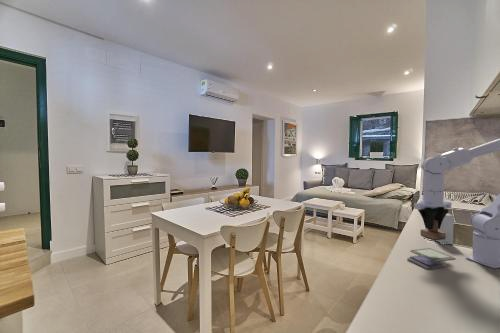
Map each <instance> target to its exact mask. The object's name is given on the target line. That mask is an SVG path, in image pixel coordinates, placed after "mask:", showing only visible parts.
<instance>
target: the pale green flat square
mask: <svg viewBox="0 0 500 333" xmlns="http://www.w3.org/2000/svg"><path fill="white" fill-rule="evenodd" d="M410 252H411V253H414V254H416V255H417V256H420V255H424V256H426V257H429V258H431V259H433V260H436V261H438V262H441V261H447V260H448V261H449V260H455V259H456V257H455V256H452V255H449V254H447V253H445V252H441V251H439V250H437V249H436V250H435V249H434V248H430V247H427V248H419V249H418V248H417V249H411V250H410Z"/></svg>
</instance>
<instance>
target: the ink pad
mask: <svg viewBox="0 0 500 333" xmlns="http://www.w3.org/2000/svg"><path fill="white" fill-rule="evenodd" d="M406 261H409V262H411V263H413V264H415V265H417V266H419V267H421V268H422V269H423V268H424V269H425V270H434V269H441V268H442V269H443V268H446V264H444V263H443V262H441V261H436V260H433V259H431V258H429V257H426V256H424V255H412V256H409V257H407V260H406Z"/></svg>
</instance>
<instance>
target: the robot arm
mask: <svg viewBox="0 0 500 333" xmlns="http://www.w3.org/2000/svg"><path fill="white" fill-rule="evenodd" d="M499 151H500V138H498V139H494V140H492V141H489V142H486V143H483V144H481V145H477V146H474V147H471V148H469V149H468V148H464V147H454V148H452V149H451V150H450V151H447V152H444V153H437V154H435V155H436V156H433V157H432V156H430V157H428V158H426V159H424V160H423V162H422V164H421V165H420V167H421V169H422V171H423V179H422V180H423V182H422V183H423V186H422V188H423V189H422V192H423V193H422V195H423V196H422V200H421V201H420V202H416V203H414V204H413V209H415V210H417V211H418V212H419V214H420V216H421V217H422V220H423V225H424V227H425V229H433V223H434V220H438V229H440V227H441V224H442V221H443V219H444V217H445V216H446V214H449V209H452V205H453V204H452V202H451V201H444V196H445V195H444V192H445V189H444V188H445V183H444V182H445V178H444V175H445V174H444V173H445V172H446V171H448V170H452V169H455V168H458V167H461V166H465V165H468V164H470V163H471V162H472V161H473V159H475V158H479V157H481V156H482V157H483V156H485V155H486V156H487V155H490V154H492V153H495V152H499ZM447 208H448V209H447ZM469 223H470V225H471V227H472V228H473V231H472V255H467V256H465V259H467V260H470V261H473V262H475V263H478V264H481V265H483V266H487V267H490V268H492V269H497V268H500V193H499V194H497V196H496V198H494V200H493V201H492V202H491V203H490V204H489V205H487V206H485V207H483V208H481V210H479V212H477V213H474V214H472V215H471V217H470V219H469Z"/></svg>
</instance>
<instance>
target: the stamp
mask: <svg viewBox="0 0 500 333" xmlns="http://www.w3.org/2000/svg"><path fill="white" fill-rule="evenodd" d="M419 234H420V236H421V237H424V238H426V239H430V240H432V241H435V240H443V239H445V238H446V233H444V232H441V231H438V220H434V223H433V229H427V228H425V229H424V228H423V229H422V228H421V229H420V232H419Z"/></svg>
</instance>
